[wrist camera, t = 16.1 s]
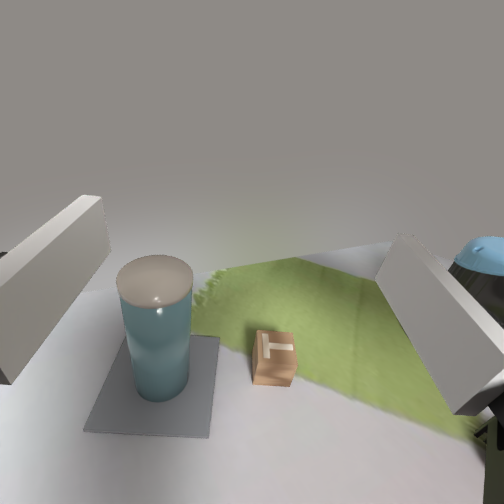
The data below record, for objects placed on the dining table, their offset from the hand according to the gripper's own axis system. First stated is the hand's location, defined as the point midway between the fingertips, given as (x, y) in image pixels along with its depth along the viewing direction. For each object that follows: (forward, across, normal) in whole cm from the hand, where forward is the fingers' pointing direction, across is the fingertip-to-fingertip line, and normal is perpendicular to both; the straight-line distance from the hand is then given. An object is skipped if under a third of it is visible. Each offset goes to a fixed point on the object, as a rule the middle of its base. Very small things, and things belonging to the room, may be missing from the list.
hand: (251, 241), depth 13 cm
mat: (+14, -9, -35) cm, 39 cm away
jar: (+14, -9, -34) cm, 38 cm away
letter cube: (+17, +8, -35) cm, 40 cm away
